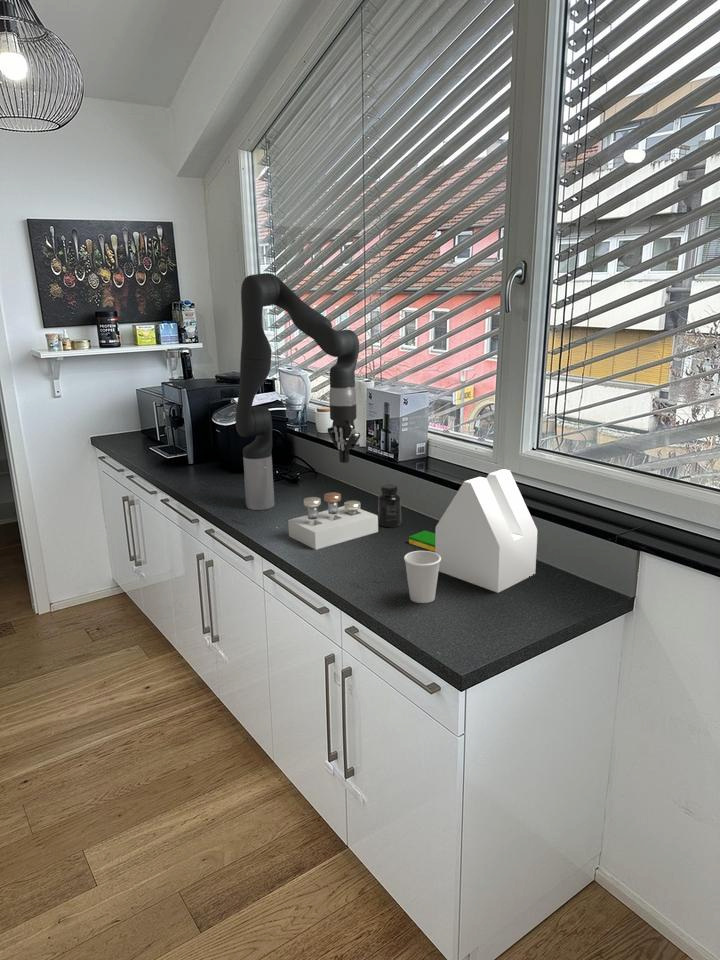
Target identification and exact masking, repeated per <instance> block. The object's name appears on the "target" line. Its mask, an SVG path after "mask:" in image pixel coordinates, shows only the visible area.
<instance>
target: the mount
mask: <svg viewBox="0 0 720 960" xmlns="http://www.w3.org/2000/svg"><path fill="white" fill-rule="evenodd" d="M287 521H288V537H289V538H291V539H294V540H296V541H297V542H300V543H301V544H304V545H305V546H308V547H309V548H311V549H314V550H320V549H324V548H327V547H330V546H334V545H337V544H340V543H344V542H348V541H350V540H355V539H358V538H361V537H365V536H369V535H372V534H375V533H379V515H377V514H375V513H372V512H369V511H367V510H364V509H362V508H360V509H358V510H357V514H356V515H353V516H350V515H348V510H346V509H344V505H343V506H338V513H337V514H328V509H326V510H323V511H318V518H317V519H314V520H310V519H308V514H306V515H302V516H299V517H293V518H291V519H288V520H287Z"/></svg>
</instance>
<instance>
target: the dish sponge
mask: <svg viewBox="0 0 720 960" xmlns="http://www.w3.org/2000/svg"><path fill="white" fill-rule="evenodd" d="M435 536H436V532H431V531H428V530H422V531H419V532H417V533H415V534H412V535H409V536H408V544H410V545H412V546H416V547H419V548H422V549H425V550H427V551H430V552H434V553H435Z"/></svg>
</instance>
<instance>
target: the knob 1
mask: <svg viewBox="0 0 720 960" xmlns="http://www.w3.org/2000/svg"><path fill="white" fill-rule="evenodd" d="M321 505H322V501H321V497H317V496H309V497H305V498H304V499H303V506H304V507H306V508H307V515H308V519H310V520H314V519H317V518H318V512H319V511H318V507H320V506H321Z"/></svg>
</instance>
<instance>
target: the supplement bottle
mask: <svg viewBox="0 0 720 960" xmlns="http://www.w3.org/2000/svg"><path fill="white" fill-rule="evenodd" d="M380 492H381V494H379V496H378V499H377V501H378V502H377V505H378V506H377V507H378V525H379V526H380V527H383V528H396V527H399V526H401V524H402V499H401V498H402V497H401V495H400V494H399V493H398V492H399V491H398V485H396V484H392V483H391V484H390V483H389V484H383V485H381V487H380Z"/></svg>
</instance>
